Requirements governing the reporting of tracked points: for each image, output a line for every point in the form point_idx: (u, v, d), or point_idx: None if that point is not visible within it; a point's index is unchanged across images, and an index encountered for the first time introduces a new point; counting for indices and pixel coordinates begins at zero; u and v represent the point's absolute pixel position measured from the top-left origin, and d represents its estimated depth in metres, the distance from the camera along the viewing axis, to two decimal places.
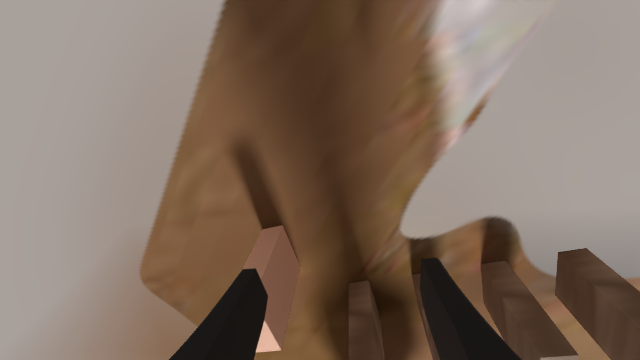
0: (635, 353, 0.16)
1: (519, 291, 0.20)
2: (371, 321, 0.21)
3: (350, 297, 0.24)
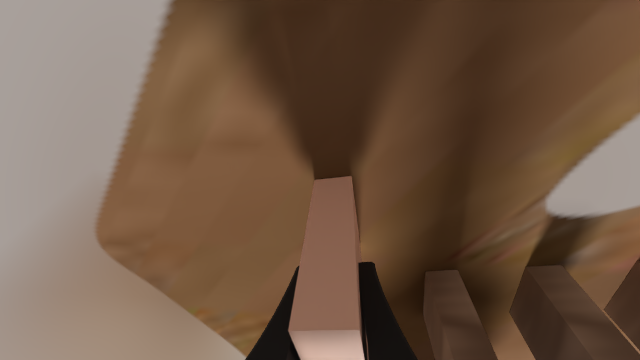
0: None
1: None
2: (487, 339, 0.13)
3: (435, 294, 0.16)
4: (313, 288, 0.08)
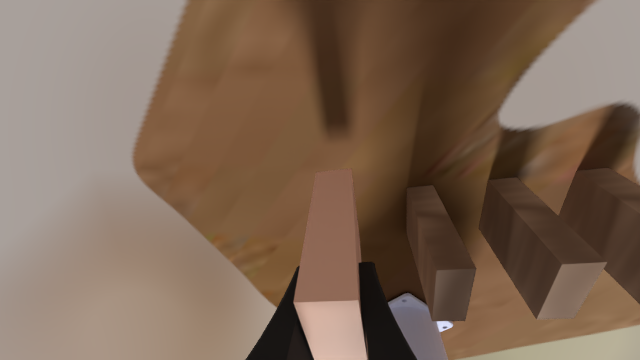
0: None
1: None
2: (450, 222, 0.17)
3: (413, 200, 0.19)
4: (315, 266, 0.09)
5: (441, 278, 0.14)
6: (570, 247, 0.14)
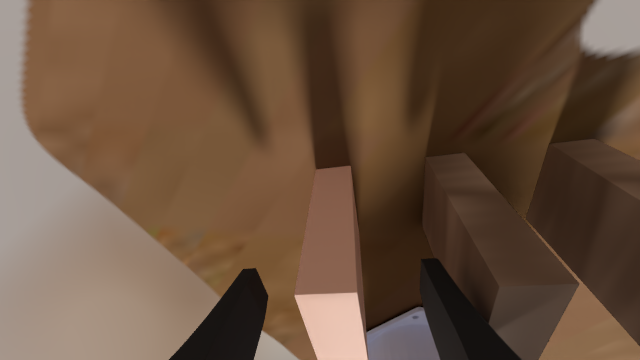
0: None
1: None
2: (505, 202, 0.10)
3: (438, 173, 0.13)
4: (316, 260, 0.09)
5: (505, 301, 0.08)
6: None
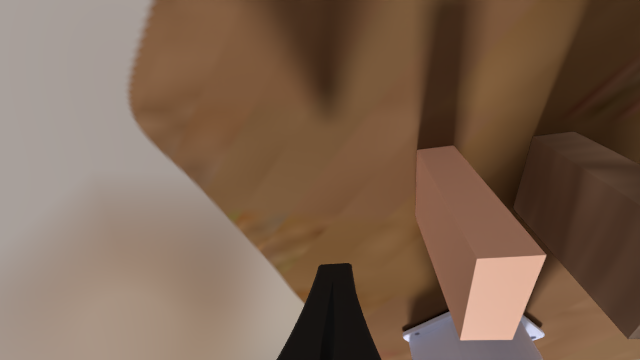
0: None
1: None
2: None
3: (558, 150, 0.13)
4: (478, 228, 0.09)
5: None
6: None
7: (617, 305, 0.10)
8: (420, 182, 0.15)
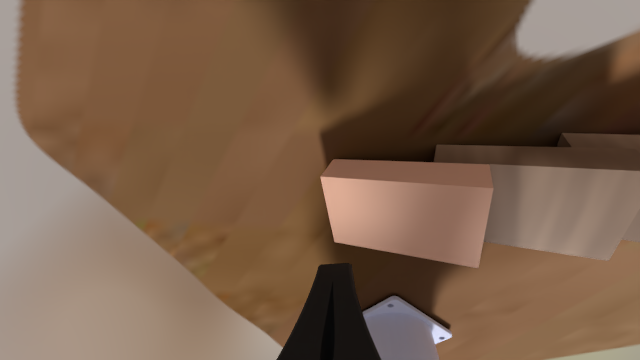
0: None
1: None
2: (531, 147, 0.13)
3: (472, 161, 0.13)
4: (457, 178, 0.12)
5: None
6: None
7: (591, 245, 0.12)
8: (341, 202, 0.15)
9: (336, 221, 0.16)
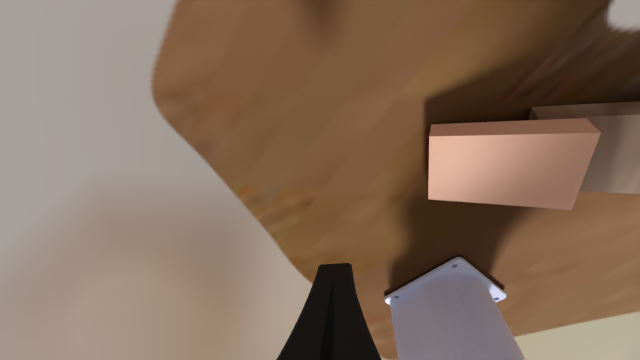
0: None
1: None
2: (625, 102, 0.15)
3: (575, 116, 0.15)
4: (563, 129, 0.14)
5: None
6: None
7: None
8: (445, 159, 0.17)
9: (435, 178, 0.18)
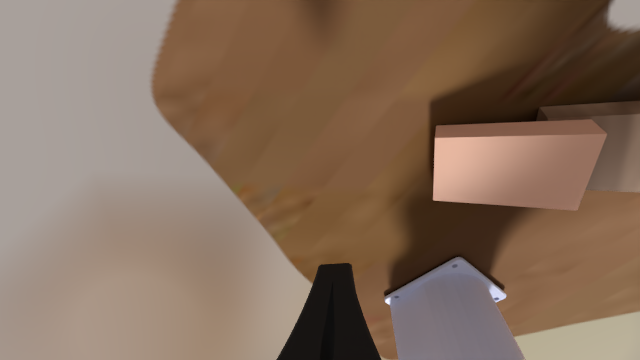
0: None
1: None
2: (634, 101, 0.15)
3: (585, 115, 0.15)
4: (569, 130, 0.14)
5: None
6: None
7: None
8: (450, 160, 0.17)
9: (440, 179, 0.18)
